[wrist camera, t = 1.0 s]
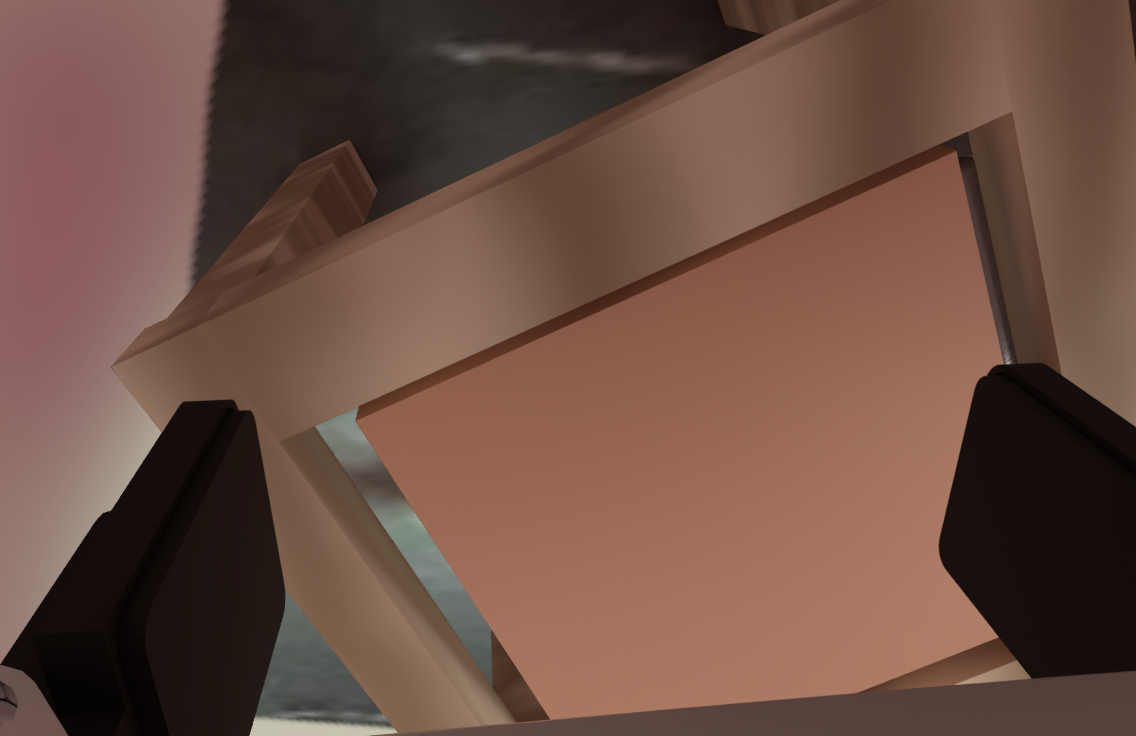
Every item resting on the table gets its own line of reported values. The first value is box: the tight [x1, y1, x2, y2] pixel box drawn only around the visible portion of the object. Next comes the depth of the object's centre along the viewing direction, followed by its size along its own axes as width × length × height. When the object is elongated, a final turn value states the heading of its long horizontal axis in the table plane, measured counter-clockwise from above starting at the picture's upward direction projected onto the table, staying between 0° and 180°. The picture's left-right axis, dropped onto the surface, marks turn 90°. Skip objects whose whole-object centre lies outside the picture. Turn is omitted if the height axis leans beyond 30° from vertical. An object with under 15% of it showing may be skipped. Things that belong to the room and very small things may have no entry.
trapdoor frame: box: [111, 0, 1136, 733], centre depth 30 cm, size 21×21×21 cm
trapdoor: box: [356, 145, 1018, 720], centre depth 22 cm, size 14×14×1 cm
